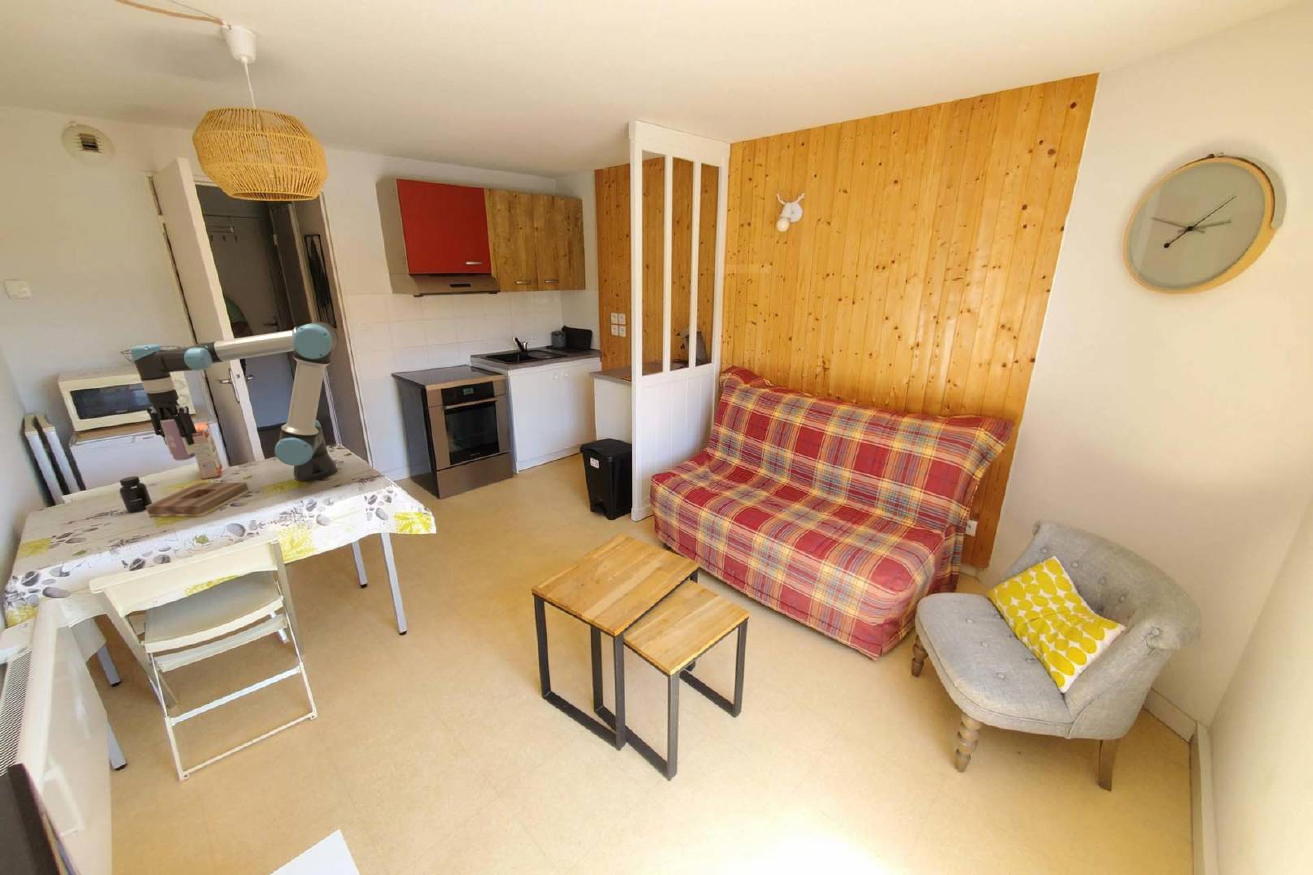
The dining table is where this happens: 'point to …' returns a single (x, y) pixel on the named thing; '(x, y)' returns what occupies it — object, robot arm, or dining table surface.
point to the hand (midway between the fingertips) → (183, 453)
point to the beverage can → (175, 440)
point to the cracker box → (206, 451)
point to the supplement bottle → (134, 494)
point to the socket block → (197, 500)
